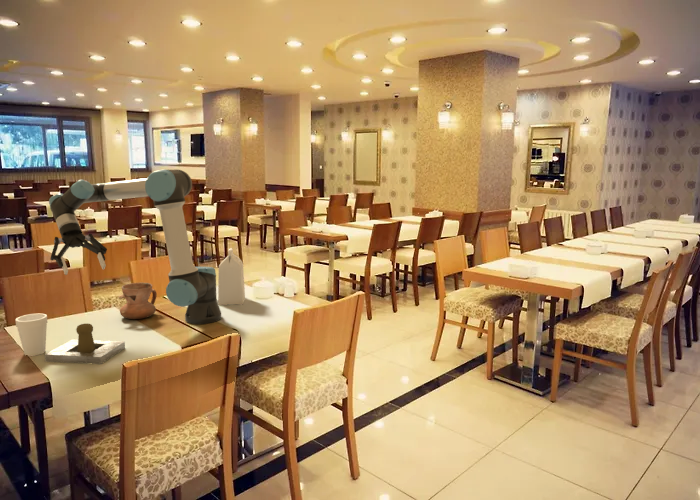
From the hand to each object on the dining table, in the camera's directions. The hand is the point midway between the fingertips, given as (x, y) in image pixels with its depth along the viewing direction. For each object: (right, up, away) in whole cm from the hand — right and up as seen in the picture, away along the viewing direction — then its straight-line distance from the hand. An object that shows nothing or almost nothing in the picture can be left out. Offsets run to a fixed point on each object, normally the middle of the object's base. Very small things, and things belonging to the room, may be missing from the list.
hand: (85, 270), depth 194 cm
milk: (+44, -18, +52) cm, 71 cm away
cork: (+10, -29, -17) cm, 35 cm away
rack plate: (+9, -29, -17) cm, 35 cm away
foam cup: (-9, -29, -16) cm, 34 cm away
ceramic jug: (+10, -22, +27) cm, 36 cm away
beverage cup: (+27, -16, +60) cm, 68 cm away
